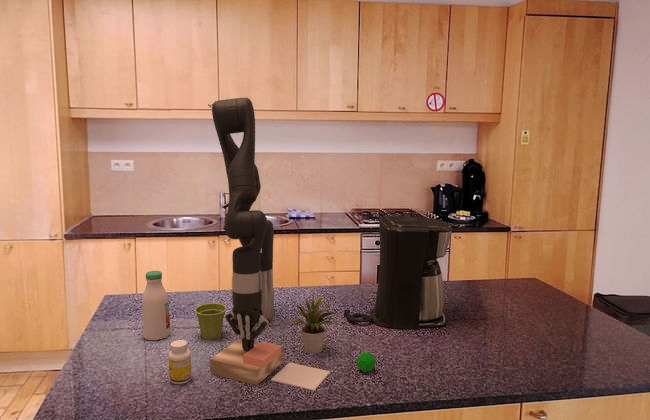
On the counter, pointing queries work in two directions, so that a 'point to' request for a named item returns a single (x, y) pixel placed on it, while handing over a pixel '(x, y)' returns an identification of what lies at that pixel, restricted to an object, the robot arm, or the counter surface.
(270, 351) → the salmon orange flat block
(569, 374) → the counter surface
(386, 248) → the coffee maker
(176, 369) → the supplement bottle
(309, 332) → the house plant
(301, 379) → the mat
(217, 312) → the plant pot
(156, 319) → the milk bottle
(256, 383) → the wooden block
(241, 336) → the robot arm
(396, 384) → the counter surface
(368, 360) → the polyhedron
